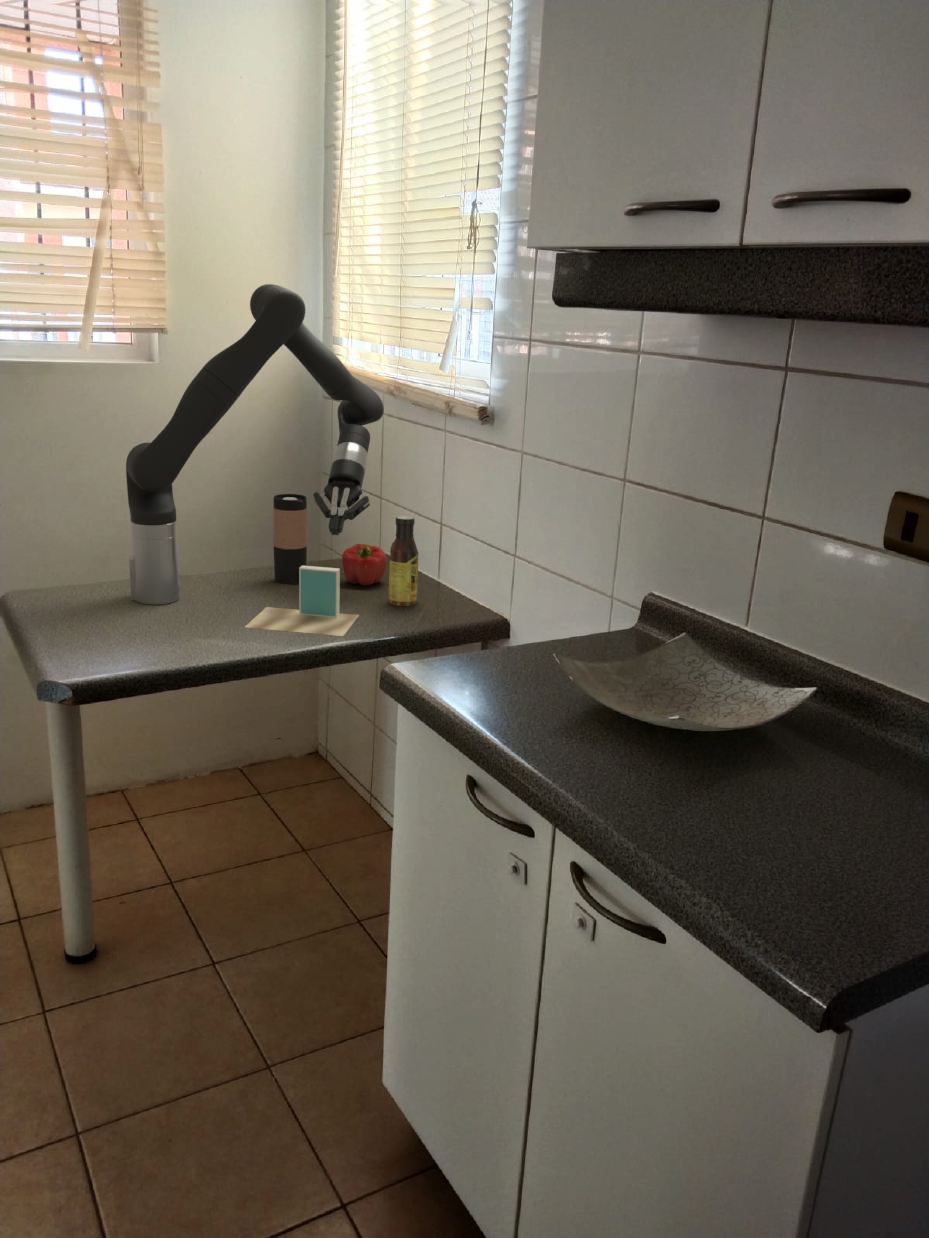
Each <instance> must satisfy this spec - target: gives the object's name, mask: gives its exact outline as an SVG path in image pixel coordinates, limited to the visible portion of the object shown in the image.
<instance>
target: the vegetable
mask: <svg viewBox="0 0 929 1238" xmlns="http://www.w3.org/2000/svg"><path fill="white" fill-rule="evenodd" d="M387 560H388V558H387V555H386V553H385V551H384V550H383V548H381V547H379V546H376V545H369V544H366V543H365V544H363V543H357V544H354V545H352V546H350V547H346V549H344V551H343V553H342V556H341V562H342V569H343V574H344V576H345V579H347V581H348V582H349V583H350V584H355V585H356V584H359V585H361V586H371V585H372V584H376V583H378V582H379V581H380V580H381V579H382V578H383V576H384V575H385V572H386V569H387V568H386V567H387V563H388V562H387Z"/></svg>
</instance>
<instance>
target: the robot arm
mask: <svg viewBox="0 0 929 1238" xmlns="http://www.w3.org/2000/svg"><path fill="white" fill-rule="evenodd" d="M249 308H250V312H251V315H252V317H253V319H254V320H255V321H254V322H253V324H252V325H251V327H250V328H249V329H248V330H247V331H246V332H245V334H244V335H243V336H241V337H240V339H238V340H236V342H234V343H232V344H231V345H230V346H228V347H226V348H224V349H223V350H222V351H220V352H219V353H217V354H215V355H214V356H213V357H211V359H209V360H208V361H207V362H206V363H205V364H204V365H203V367H202V368H201V369H200V370H199V371H198V373H197V374H196V375H195V376H194V377H193V379H192V380H191V382H190V383H189V384H188V386H187V388H186V389H185V390H184V392H183V394H182V395H181V398H180V401H179V402H178V404H177V406H176V407H175V408H176V409H175V411H174V413H173V415H172V417H171V419H170V420H169V421H168V423H167V424H166V425H165V426H164V428H163V429H162V430H161V431H160V433H158V434H157V436H156V437H155V438H154V439H153V440H152V441H151V442H141V443H139V444H137V445H135V446H134V447H132V448H131V449H130V451H129V452H128V454H127V457H126V460H125V461H126V462H125V475H126V476H125V477H126V489H127V501H128V504H127V505H128V509H129V514H130V527H131V528H130V531H131V547H132V555H131V556H129V557H128V566H129V567H128V568H129V569H128V570H129V585H130V601H132V600H134V601H133V602H137V603H139V602H140V604H144V605H165V604H171V603H175V602H177V601H178V600H180V581H179V580H180V575H179V556H178V555H179V552H178V551H179V550H178V532H177V531H178V528H177V525H178V524H177V509H176V505H175V500H174V494H173V493H174V492H173V483H174V482H175V480H176V479H177V478H178V476H179V474H180V473H181V471H182V469H183V468H184V466H185V465H186V463H187V462H188V460H189V459H190V457H191V455H192V454H193V452H194V450H196V448H197V447H198V445H199V444H201V442H202V441H203V440H204V439H205V437H206V436H207V435H208V434H209V433H211V431H212V430H213V429H214V427H216V425H217V424H218V423H219V422H220V420H221V419H222V418H223V417H224V416H225V414H227V413H228V411H229V410H231V407H233V405H235V403H236V401H237V400H238V399H239V398H240V396H241V395H242V394H243V392H244V391H245V389H246V388H247V387H248V386H249V384H250V383H251V382H252V381H253V380H254V378H255V377H256V376H257V375H258V374H259V372H260V371H261V370H262V369H263V367H264V366H265V365H266V363H267V362H268V361H269V360H270V359H271V358H272V356H273V355H275V353H276V352H278V350H279V349H280V348H281V347H282V346H283V345H284V346H285V347H286V348H287V350H288V351H290V352H291V353H292V354H293V356H294V357H295V358H296V359H297V360H298V361H299V362H300V364H301V365H302V366H303V367H304V368H305V369H306V370H307V372H308V373H309V374H310V376H311V377H312V378H313V379H314V380H315V381H316V383H317V384H318V385H319V386H320V388H322V389H323V391H324V392H325V393H326V395H328V397H329V398H330V399H332V400H334V401H339V402H340V403H339V405H338V407H337V419H338V421H337V422H338V430H339V435H338V441H337V445H336V448H335V451H334V453H333V457H332V460H331V461H332V462H331V467H330V471H329V475H328V481H327V484H326V486H324V487H323V491H320V492H317V491H316V492H314V493H313V494H312V495H313V499H314V502H315V503H316V505H317V506H318V508H319V510H320V512H321V513H322V514H323V516H324V517H325V518H326V519H329V522H328V530H329V533H330V534H331V535H332V536H339V535H340V534H342V532H343V529H344V525H345V521H347V520H350V521H353V520H354V519H356V517H358V516H359V515H360V514H361V513H363V512H364V511H365V510H366V509H367V508H369V507H370V505H371V504H370V503H371V501H370V499H369V496H368V495H364V493H363V490H362V489H363V483H364V479H365V478H364V477H365V473H366V470H367V464H368V463H367V461H368V454H369V447H370V442H371V434H370V431H369V430H368V429H367V427H365V426H366V425H369V424H372V423H375V422H376V423H377V422H378V421H379V420H381V419H382V417H383V415H384V404H383V403H384V402H383V401H382V399H381V397H380V396H379V395H378V394H377V392H376V391H375V390H373V389H372V388H371V387H369V386H368V385H367V384H365V383H364V382H362V381H361V380H360V379H358V378H356V377H355V376H354V375H352V373H351V371H349V369H348V368H347V367H346V365H344V364H343V362H342V361H341V359H340V358H338V357H337V355H336V354H334V352H333V351H332V350H331V349H330V348H329V347H327V346H326V344H324V343H323V342H322V341H321V340H319V338H318V337H316V336H315V334H313V332H311V331H310V330H309V328H308V327H307V326H306V325H305V324H304V320H305V317H306V304H305V302H304V299H303V297H302V296H300V294H298V293H297V292H295V291H294V290H291V289H288V288H286V287H284V286H281V285H279V284H274V283H266V284H262V285H260V286H259V287H257V288H256V289H255V290H254V291H253V293H252V294H251V296H250V299H249ZM326 498H327V500H328V501H329V504H330V505H331V506H330V507H331V508H330V509H329V507H328V506H327V504H326Z"/></svg>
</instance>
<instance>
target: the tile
mask: <svg viewBox="0 0 929 1238" xmlns="http://www.w3.org/2000/svg"><path fill="white" fill-rule="evenodd" d="M340 578H341V569H340V568H339V567H338V568H337V567H336V568H335V567H327V566H325V567H324V566H312V565H306V566H303V565H302V566H301V567H300V568H299V585H298V587H299V590H298V591H299V592H298V594H299V599H298V600H299V602H298V603H299V608H298V610H299V614H301V615H312V616H324V617H335V618H337V617H338V616H339V613H340V603H341V601H340V597H341V596H340V595H341V594H340V592H341V591H340V590H341V589H340V588H341V587H340V586H341V585H340V583H341V582H340V581H341V579H340Z"/></svg>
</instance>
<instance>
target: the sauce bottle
mask: <svg viewBox="0 0 929 1238" xmlns="http://www.w3.org/2000/svg"><path fill="white" fill-rule="evenodd" d="M415 521H416V520H415V517H413V516H410V515H398V516H395V525H396V527H395V528H396V531H395V539H394V541H393V542H392V543H391V546H390V551H389V552H390V556H389V557H390V558H389V567H388V568H389V569H388V571H389V572H388V574H389V575H388V600H389V601H388V603H389V604H390V605H393V606H396V607H412V606H414V605H416V604H417V600H418V579H419V578H418V575H419V551H418V548H417V544H416V542H415V538H414V537H415V536H414V525H415V523H416V522H415Z"/></svg>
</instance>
